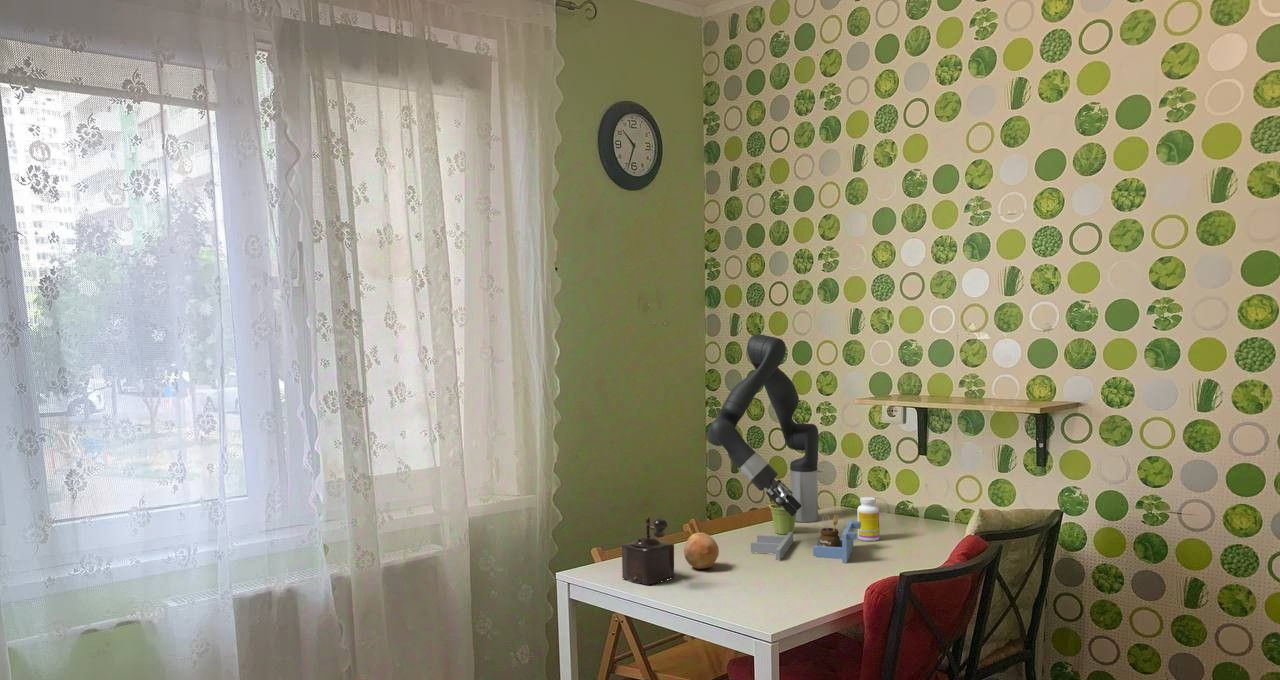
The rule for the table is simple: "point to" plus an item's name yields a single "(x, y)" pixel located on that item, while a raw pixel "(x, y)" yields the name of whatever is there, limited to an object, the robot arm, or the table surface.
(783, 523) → the plant pot
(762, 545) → the grey rail with prongs
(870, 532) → the supplement bottle
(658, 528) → the manual coffee grinder
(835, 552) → the blue rail with prongs
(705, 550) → the onion
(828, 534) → the utensil holder
